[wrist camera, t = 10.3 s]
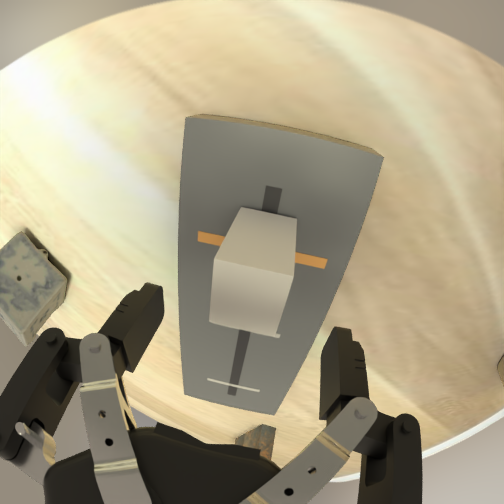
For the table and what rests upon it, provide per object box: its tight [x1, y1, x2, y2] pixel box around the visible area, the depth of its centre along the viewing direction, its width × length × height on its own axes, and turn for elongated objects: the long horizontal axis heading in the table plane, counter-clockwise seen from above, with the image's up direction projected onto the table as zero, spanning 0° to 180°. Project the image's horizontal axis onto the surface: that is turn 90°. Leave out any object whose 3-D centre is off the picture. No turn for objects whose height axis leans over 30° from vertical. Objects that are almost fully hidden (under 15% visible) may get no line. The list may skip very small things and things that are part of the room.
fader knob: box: [209, 207, 297, 337], centre depth 15 cm, size 4×4×6 cm
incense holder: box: [0, 232, 67, 347], centre depth 25 cm, size 10×8×10 cm
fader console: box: [178, 114, 384, 415], centre depth 24 cm, size 32×12×3 cm, turn 171°
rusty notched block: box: [235, 424, 276, 460], centre depth 39 cm, size 11×3×10 cm, turn 154°
